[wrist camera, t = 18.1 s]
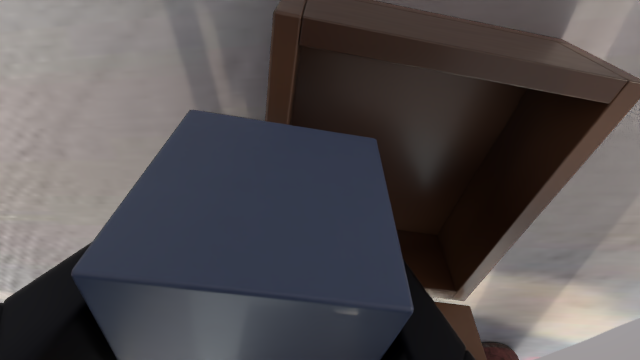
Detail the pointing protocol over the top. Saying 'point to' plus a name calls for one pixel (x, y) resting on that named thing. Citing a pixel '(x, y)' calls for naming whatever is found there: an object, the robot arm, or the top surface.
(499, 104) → the chest
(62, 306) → the robot arm
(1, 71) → the top surface
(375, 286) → the block
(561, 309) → the top surface
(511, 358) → the can
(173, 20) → the top surface
